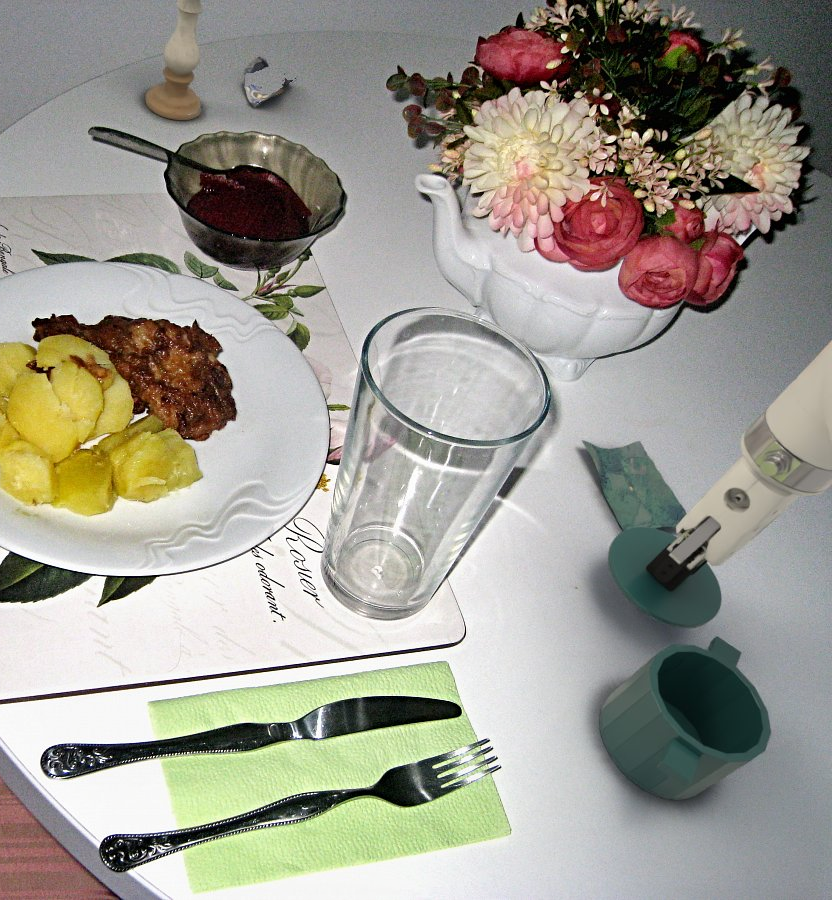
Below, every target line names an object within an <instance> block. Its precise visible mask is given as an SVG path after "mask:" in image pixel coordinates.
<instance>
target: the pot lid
mask: <svg viewBox="0 0 832 900" xmlns="http://www.w3.org/2000/svg"><path fill="white" fill-rule="evenodd" d="M677 538H678V537H677V536H675V535H673V534H672V533H669V532H667V531H663V530H661V529H659V528H649V527H634V528H630V529H627V530H622V531H621V532H619V533H618V534H617V535H616V536H615V537H614V538H613V540H612V541H611V542H610V545H609V548H608V551H607V560H608V561H607V563H608V567H609V571H610V573H611V576H612V578H613V580H614V583H615V584H616V586H617V587H618V589H619V590H620V591H621V593H622V594H623V595H624V596H625V597H626V598H627V600H628V601H630V602H631V604H633V605H634V607H636V608H637V609H638V610H639V611H641V612H642V613H644V614H645V615H647V616H648V617H650V618H652V619H653V620H656V621H658V622H660V623H661V624H665V625H667V626H671V627H675V628H681V629H696V628H699V627H702V626H705V625H707V624H708V623H710V622H711V621H713V620H714V619H715V618H716V616H717V615H718V613H719V612H720V609H721V606H722V590H721V587H720V584H719V583H720V582H719V581H718V579H717V576H716V574H715V572H714V571H713V569H712V568H711V565H709V564H708V562H707V563H706V564H705V565H703V566H702V567H701V568H700V569H699V570H698V571H697V572H696V573H695V574H693V575H690V576H689V577H688V578H687V579H686V580H685V581H684V582H682V583H681V584H680V585H679V586H678V587H677V588H676V589H675V590H674V591H672V592H670V591H668V590H667V589H666V588H665V587H664V586H662V585H661V584H660V583H659V582H658V581H657V580H656V579H655V578H654V577H653V576H652V575H651V574H650V573H649V572H648V571H647V570H646V566H647V565H648V564H649V563H650V562H651V561H652V560H653V559H654V558H655V557H656V556H657V555H658V554H659V553H660V552H661V551H662V550H663V549H664V548H665V547H666V546H667V545H668V544H670V543H671V544H672V543H673V542H674V541H675V540H676V539H677ZM700 552H701V551H700V550H699V549H697V550H696V551H695V552H694V554H695V555H696V556H697V555H698V554H699V553H700ZM696 556H695V557H696ZM705 560H706V559H705V558H704V559H703V560H701V561H700V562H699V563H698V564H697V565H696V567H698V566H700V565H701V564H702V563H703V562H704V561H705Z"/></svg>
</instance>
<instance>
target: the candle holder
mask: <svg viewBox="0 0 832 900" xmlns="http://www.w3.org/2000/svg"><path fill="white" fill-rule="evenodd" d="M175 6H176V8H177V9H178V16H177V21H176V26H175V29H174V31H173V33H172V35H171V37H169V39H168V41H167V42H166V44H165V46H164V48H163V53H162V54H163V55H162V57H163V61H164V63H165V65H166V66H165V67H164V68H163V70H162V75H163V77H164V80H165V81H164V82H159V83H157V84H156V85H155V86H153V87H151V88H150V89H148V90H147V91H146V94H145V104H146V106H147V107H148V109H149V110H150V111H152V113H155V114H156V115H159V116H160V117H163V118H166V119H169V120H175V121H189V120H193V119H195V118H197V117H199V116H200V114H201V113H202V110H203V107H202V108H201V110H200V111H198V112H197V113H195V114H191V113H194V112H195V111H197V110H198V109H199V108H200V101H199V99H200V97H199V96H198V95H197V94H196V92H195V91H194V90H193V88H190V87H189V86H190V85H191V83H192V82H193V81H194V80H195V74H194V71H195V70H196V68H197V67H198V66H199V64H200V60H201V53H200V47H199V44H198V39H197V25H198V19H199V15H201V14H202V13H203V12H204V8H203V5H202V2H201V0H178V1H177V2H176V4H175ZM197 96H198V97H197ZM188 114H191V115H188Z"/></svg>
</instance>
